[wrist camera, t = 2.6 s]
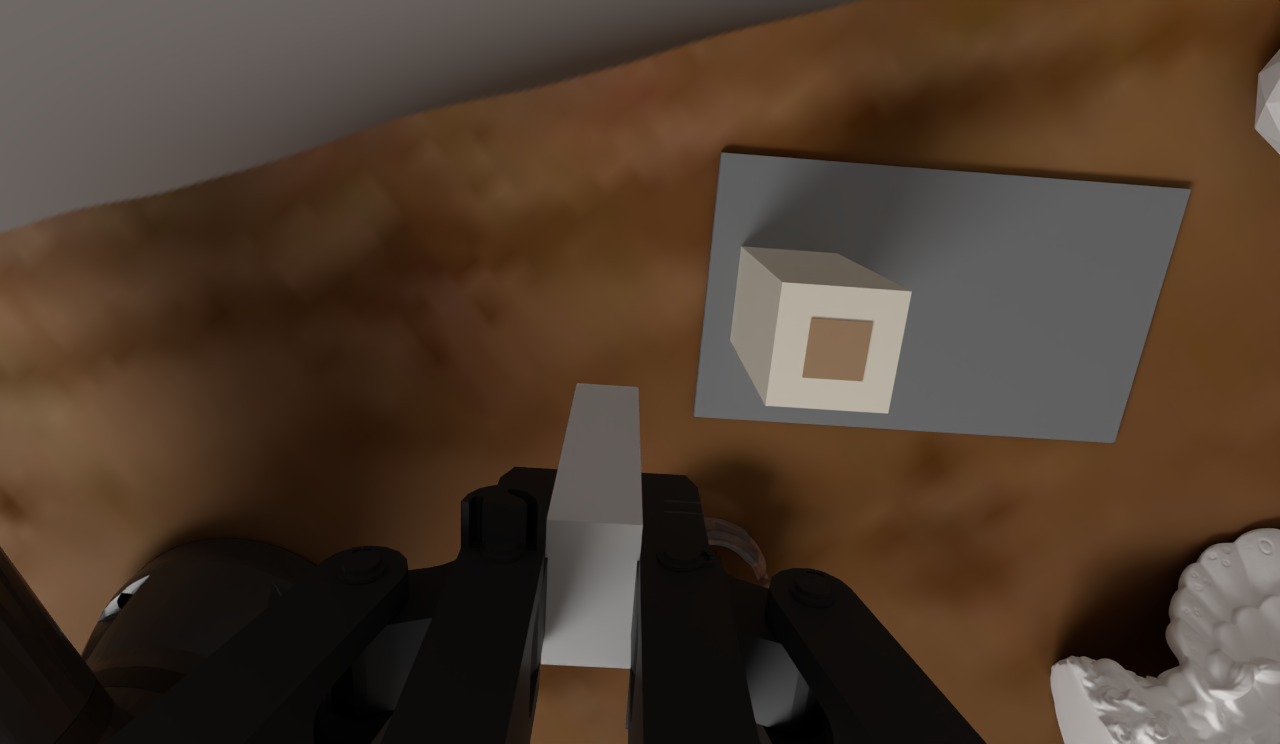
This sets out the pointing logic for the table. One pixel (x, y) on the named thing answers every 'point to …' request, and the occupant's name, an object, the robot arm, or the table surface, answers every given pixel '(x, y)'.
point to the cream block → (817, 330)
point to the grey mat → (958, 289)
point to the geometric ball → (1269, 102)
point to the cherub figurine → (1193, 661)
